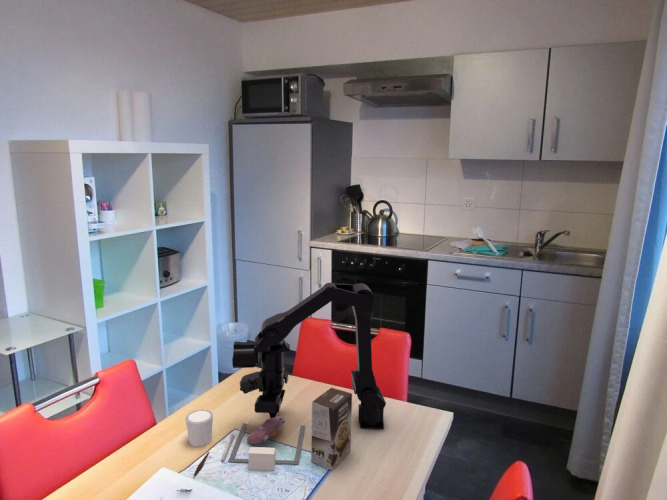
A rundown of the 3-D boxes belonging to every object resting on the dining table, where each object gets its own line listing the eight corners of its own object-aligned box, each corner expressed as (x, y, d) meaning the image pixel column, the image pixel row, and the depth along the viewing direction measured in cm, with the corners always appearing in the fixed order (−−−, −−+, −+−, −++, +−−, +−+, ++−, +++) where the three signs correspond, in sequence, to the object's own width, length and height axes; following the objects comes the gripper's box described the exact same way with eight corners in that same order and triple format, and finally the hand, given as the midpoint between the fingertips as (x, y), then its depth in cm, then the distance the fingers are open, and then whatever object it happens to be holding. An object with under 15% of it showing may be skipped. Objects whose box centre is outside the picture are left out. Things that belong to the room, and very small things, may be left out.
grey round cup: (205, 429, 129) (204, 406, 127) (219, 440, 124) (218, 416, 123) (181, 440, 124) (180, 415, 123) (195, 451, 119) (193, 426, 118)
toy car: (255, 453, 121) (264, 435, 118) (244, 440, 123) (252, 423, 120) (281, 435, 129) (290, 418, 126) (270, 423, 131) (278, 406, 128)
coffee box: (332, 471, 113) (333, 409, 109) (310, 462, 116) (310, 401, 113) (351, 451, 120) (353, 393, 117) (330, 443, 124) (331, 386, 120)
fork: (214, 454, 119) (213, 447, 119) (187, 499, 103) (186, 491, 103) (204, 453, 119) (203, 446, 119) (175, 498, 104) (175, 490, 103)
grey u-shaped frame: (305, 426, 131) (305, 411, 130) (297, 471, 112) (297, 454, 112) (236, 424, 132) (236, 409, 131) (217, 468, 113) (217, 452, 112)
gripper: (249, 350, 136) (250, 400, 139) (233, 381, 118) (235, 437, 121) (288, 351, 135) (288, 401, 139) (278, 383, 117) (278, 439, 120)
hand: (272, 418), depth 130 cm, fingers closed
